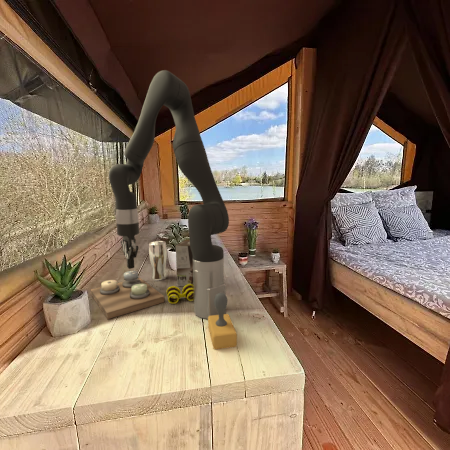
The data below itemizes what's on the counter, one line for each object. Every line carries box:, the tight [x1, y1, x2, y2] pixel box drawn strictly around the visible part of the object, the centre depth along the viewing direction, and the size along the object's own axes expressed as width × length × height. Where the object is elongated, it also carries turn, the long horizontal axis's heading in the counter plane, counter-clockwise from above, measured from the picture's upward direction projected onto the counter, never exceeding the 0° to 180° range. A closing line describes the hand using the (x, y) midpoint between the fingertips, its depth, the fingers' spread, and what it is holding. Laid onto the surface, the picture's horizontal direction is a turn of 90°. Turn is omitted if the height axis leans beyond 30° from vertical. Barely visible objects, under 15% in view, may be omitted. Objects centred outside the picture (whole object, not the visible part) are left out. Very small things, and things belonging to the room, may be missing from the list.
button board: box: [90, 277, 165, 320], centre depth 94 cm, size 22×18×3 cm
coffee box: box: [175, 240, 194, 287], centre depth 106 cm, size 9×6×16 cm
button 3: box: [123, 270, 139, 281], centre depth 100 cm, size 5×5×2 cm
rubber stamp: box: [207, 293, 238, 350], centre depth 70 cm, size 10×6×12 cm, turn 11°
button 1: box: [100, 279, 118, 291], centre depth 95 cm, size 5×5×2 cm
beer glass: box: [148, 240, 168, 282], centre depth 111 cm, size 7×7×15 cm
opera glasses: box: [165, 284, 194, 305], centre depth 92 cm, size 10×5×5 cm, turn 108°
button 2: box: [131, 284, 147, 295], centre depth 91 cm, size 5×5×2 cm
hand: (130, 267), depth 100 cm, fingers closed
